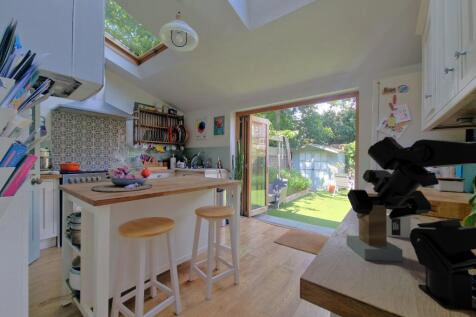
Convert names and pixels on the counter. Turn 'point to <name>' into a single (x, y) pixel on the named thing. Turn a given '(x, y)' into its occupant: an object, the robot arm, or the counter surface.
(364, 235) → the post
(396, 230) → the container
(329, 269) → the counter surface
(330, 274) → the counter surface
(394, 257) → the plinth
